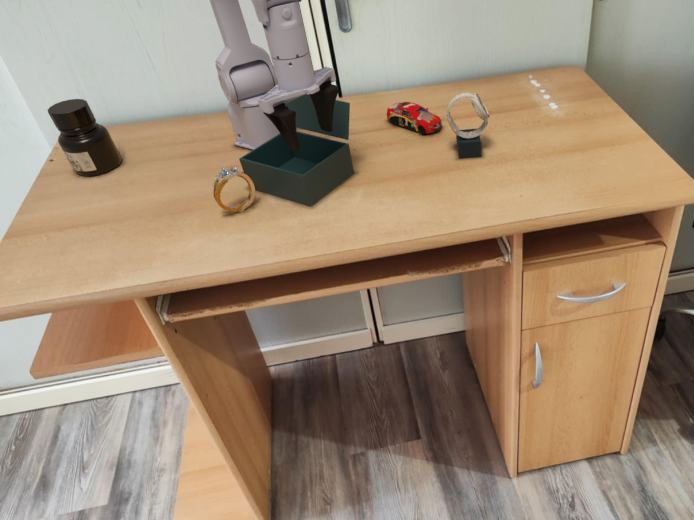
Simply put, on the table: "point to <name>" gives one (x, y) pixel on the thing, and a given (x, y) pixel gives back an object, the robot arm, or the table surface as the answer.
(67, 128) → the ink bottle
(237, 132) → the robot arm
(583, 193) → the table surface
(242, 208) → the ring
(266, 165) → the carton
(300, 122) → the flap
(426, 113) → the race car
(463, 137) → the watch
